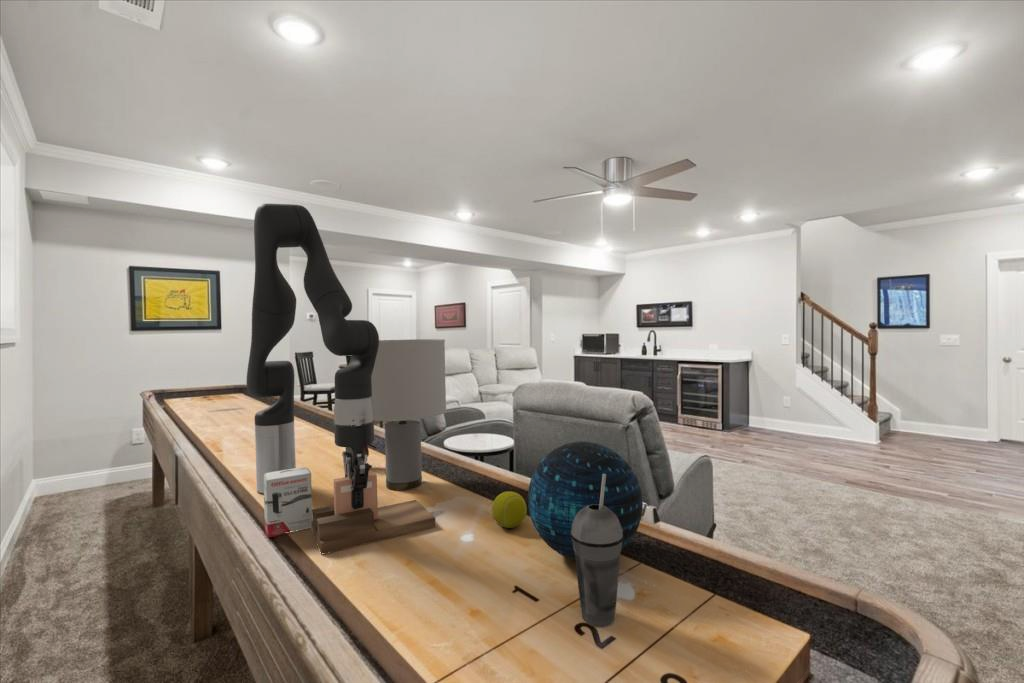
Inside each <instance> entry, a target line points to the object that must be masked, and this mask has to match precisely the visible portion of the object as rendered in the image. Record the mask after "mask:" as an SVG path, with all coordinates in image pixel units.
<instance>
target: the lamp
mask: <svg viewBox="0 0 1024 683" xmlns="http://www.w3.org/2000/svg"><path fill="white" fill-rule="evenodd" d="M445 342H446V339H444V338H442V339H441V338H436V339H435V338H434V339H433V338H431V339H430V338H428V339H427V338H426V339H425V338H422V339H417V338H416V339H384V340H383V339H381V340H380V339H379V347H378V352H377V356H376V360H375V364H374V368H373V372H372V376H371V381H372V402H373V409H374V422H386V423H385V424H384V446H385V447H384V449H385V450H384V452H385V487H386V489H388V490H390V491H409V490H413V489H417V488H419V487H421V486H422V484H423V475H422V474H423V473H422V472H423V471H422V470H423V469H422V436H421V435H422V432H421V431H422V430H421V428H422V427H421V422H420V421H419V420H423V419H424V420H425V419H428V418H434V417H438V416H441V415H443V414H446V413H447V397H446V395H447V394H446V393H447V392H446V391H447V390H446V356H445V355H446V351H445V350H446V348H445V347H446V346H445V345H446V344H445Z"/></svg>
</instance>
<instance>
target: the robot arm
mask: <svg viewBox="0 0 1024 683" xmlns="http://www.w3.org/2000/svg"><path fill="white" fill-rule="evenodd" d="M254 213H255V214H254V221H253V235H254V238H253V240H254V262H255V263H254V285H253V296H252V308H251V336H250V337H251V339H250V340H251V342H250V349H249V350H250V351H249V357H248V362H247V363H248V364H247V370H246V390H247V393H248V394H249V396H251V397H253V398H258V399H259V398H260V399H261V398H273V397H278V400H277V401H276V402H275V403H273V404H272V405H270V406H269V407H267V408H264V409H261V410H259V411H257V412H256V413H255V415H254V437H255V439H254V442H255V443H254V444H255V470H256V471H255V472H256V492H257V493H260V494H264V474H266V473H270V472H275V471H282V470H288V469H294V468H297V467H296V433H295V368H294V365H293V364H292V362H291V361H289V360H271V361H270V360H268V361H267V359H268V357H269V355H270V354H271V352H272V350H273V349H274V348H275V347H276V346H277V345H278V344H279V343H280V342H282V340H283V339H284V338H285V337H286V336H287V335H288V334H289V332H290V331H291V329H292V328H293V326H294V323H295V318H296V310H297V296H296V294H295V292H294V290H293V288H292V287H291V284H289V282H288V280H286V278H285V277H284V275H283V273H282V272H281V270H280V268H279V265H278V260H277V255H278V254H277V253H278V249H279V248H281V249H283V248H284V249H285V248H301V249H302V250H303V251H304V253H305V255H306V258H307V260H306V266H305V270H304V274H303V288H304V291H305V294H306V296H307V299H308V300H309V302H310V303H311V305H312V306H313V308H314V310H315V312H316V313H317V317H318V322H319V327H320V332H321V335H322V341H323V344H324V346H325V348H326V349H327V350H328V351H329V352H330V353H332V354H333V355H336V356H339V357H345V356H346V357H347V356H351V357H350V359H349V363H348V365H345V367H342V368H339V369H338V370H337V371H336V372H335V373H334V407H333V426H334V427H333V428H334V445H335V446H337V447H340V448H345V451H342V454H341V456H342V459H343V460H342V461H343V468H344V477H348V478H349V479H351V487H350V488H351V502H352V508H353V509H358V508H362V507H363V506H364V493H363V489H364V488H367V481H368V473H370V472H369V470H370V469H369V465H370V464H369V463H368V457H367V453H365V452H364V446H365V445H367V444H371V445H372V443H373V442H374V441H375V421H374V409H373V402H372V381H371V376H372V372H373V368H374V364H375V360H376V356H377V352H378V347H379V340H380V335H379V332H378V330H377V327H376V325H374V324H373V323H372V322H371V321H370V320H364V319H363V320H362V319H346V317H348V316H349V315H350V313H351V312H352V309H353V303H352V300H351V299H350V296H349V295H348V293H347V292H346V290H345V288H344V286H343V285H342V282H340V280H339V278H338V276H337V274H336V272H335V271H334V269H333V267H332V265H331V260H330V259H329V257H328V253H327V251H326V247H325V245H324V242H323V240H322V237H321V235H320V232H319V230H318V226H317V223H316V222H315V220H314V218H313V216H312V215H311V213H310V211H309V210H308V209H307V208H306V206H303V205H301V204H292V203H289V204H288V203H261V204H260V205H258V206H257V208H256V210H255V212H254ZM367 446H368V445H367ZM358 481H361V482H360V483H357V482H358Z"/></svg>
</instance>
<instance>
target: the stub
mask: <svg viewBox="0 0 1024 683" xmlns="http://www.w3.org/2000/svg"><path fill="white" fill-rule="evenodd" d="M377 477H378V475H377V473H375V472H369V473H368V481H367V488H364V489H363V493H364V506H363V507H362V508H358V509H353V508H352V502H351V488H350V487H351V479H349V478H348V477H345V476H344V477H339V478H333V505H334V513H335V515H338V514H343V513H348V512H353V511H358V510H363V509H367V508H370V509H371V510H372V511H373V512H374V520H375V519H378V508H379V507H378V506H379V505H378V504H379V503H378V502H379V501H378V478H377ZM360 482H361V481H358V482H357V483H360Z"/></svg>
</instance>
